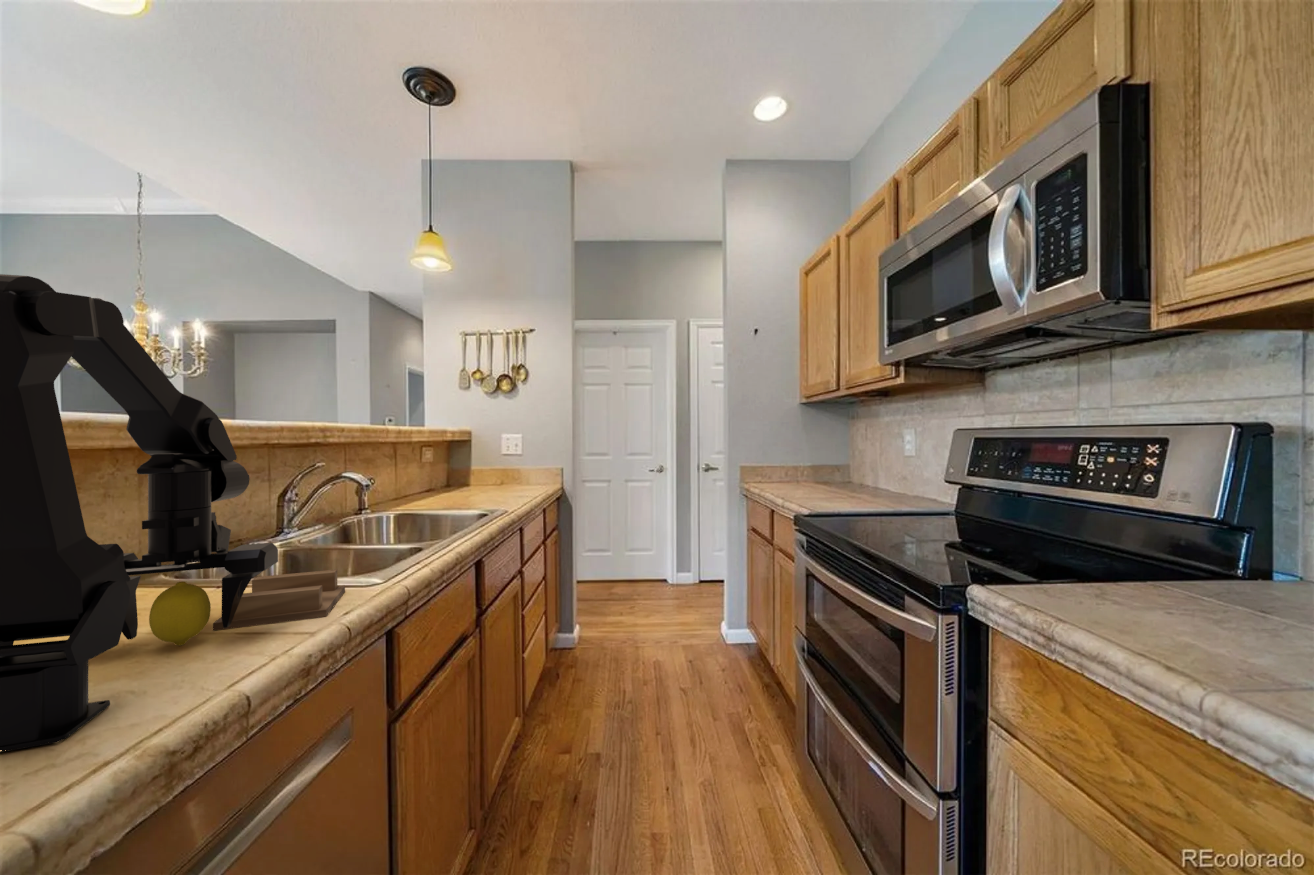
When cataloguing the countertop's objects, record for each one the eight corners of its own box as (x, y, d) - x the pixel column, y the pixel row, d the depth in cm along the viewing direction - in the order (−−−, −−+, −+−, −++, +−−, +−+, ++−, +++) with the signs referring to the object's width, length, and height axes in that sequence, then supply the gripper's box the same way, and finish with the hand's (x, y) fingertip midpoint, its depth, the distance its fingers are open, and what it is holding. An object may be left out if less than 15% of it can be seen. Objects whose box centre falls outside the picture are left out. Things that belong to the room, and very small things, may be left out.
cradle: (326, 616, 71) (326, 589, 71) (212, 630, 66) (212, 601, 66) (345, 591, 83) (344, 568, 83) (250, 601, 78) (250, 576, 78)
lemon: (172, 656, 58) (172, 589, 58) (136, 652, 59) (136, 587, 59) (222, 638, 63) (222, 576, 63) (188, 635, 64) (188, 574, 64)
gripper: (290, 497, 72) (290, 602, 72) (122, 505, 65) (122, 621, 65) (262, 506, 62) (263, 629, 62) (59, 516, 55) (59, 655, 55)
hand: (180, 632), depth 61 cm, fingers open, 9 cm apart
